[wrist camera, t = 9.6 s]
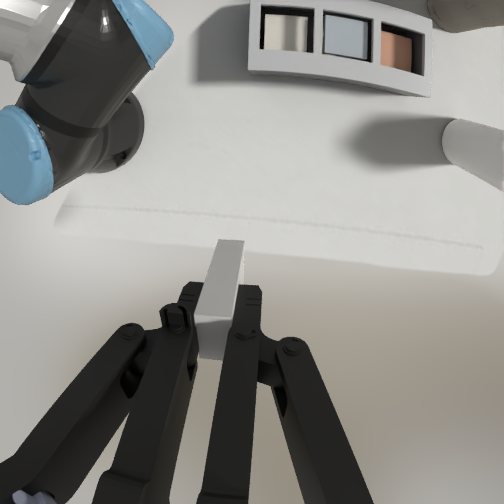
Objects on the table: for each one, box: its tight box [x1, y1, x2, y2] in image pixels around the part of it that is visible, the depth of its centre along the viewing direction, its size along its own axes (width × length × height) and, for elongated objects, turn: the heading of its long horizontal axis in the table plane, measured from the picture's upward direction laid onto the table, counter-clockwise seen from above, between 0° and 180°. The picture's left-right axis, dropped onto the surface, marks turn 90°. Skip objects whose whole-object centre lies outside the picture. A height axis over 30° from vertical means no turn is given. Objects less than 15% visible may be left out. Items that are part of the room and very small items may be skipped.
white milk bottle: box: [442, 119, 504, 191], centre depth 30 cm, size 8×8×18 cm
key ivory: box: [264, 14, 308, 53], centre depth 32 cm, size 6×6×4 cm
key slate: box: [323, 15, 368, 60], centre depth 29 cm, size 6×6×4 cm
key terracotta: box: [380, 31, 412, 73], centre depth 31 cm, size 6×6×4 cm
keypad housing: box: [248, 0, 433, 98], centre depth 30 cm, size 24×12×8 cm, turn 88°
